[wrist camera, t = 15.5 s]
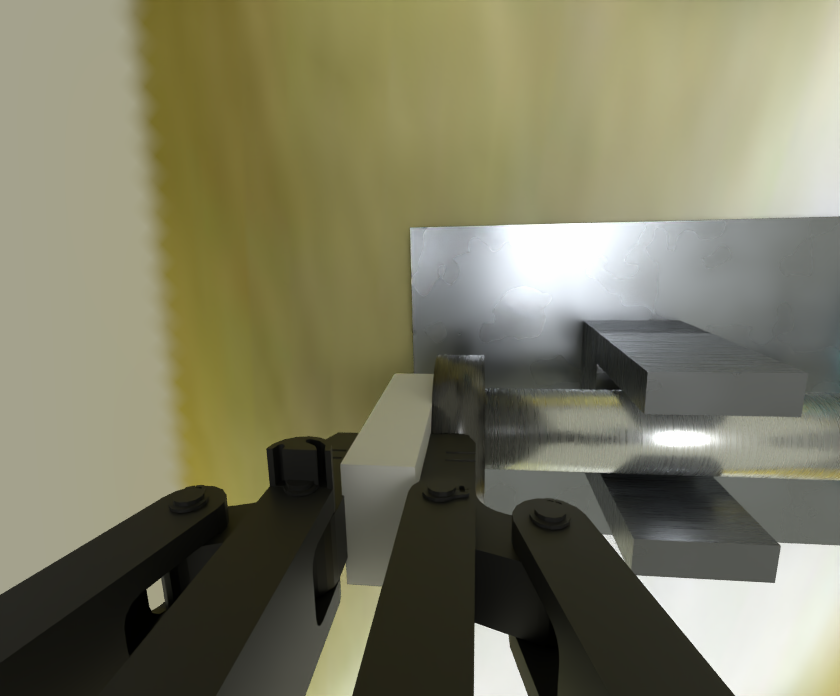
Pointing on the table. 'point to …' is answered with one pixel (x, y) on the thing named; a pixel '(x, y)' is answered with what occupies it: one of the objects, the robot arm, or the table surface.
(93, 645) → the robot arm
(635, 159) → the table surface
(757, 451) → the shaft
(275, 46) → the table surface
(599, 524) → the bolt fixture plate
